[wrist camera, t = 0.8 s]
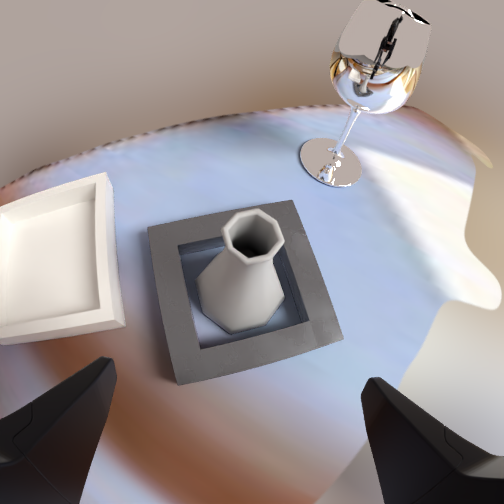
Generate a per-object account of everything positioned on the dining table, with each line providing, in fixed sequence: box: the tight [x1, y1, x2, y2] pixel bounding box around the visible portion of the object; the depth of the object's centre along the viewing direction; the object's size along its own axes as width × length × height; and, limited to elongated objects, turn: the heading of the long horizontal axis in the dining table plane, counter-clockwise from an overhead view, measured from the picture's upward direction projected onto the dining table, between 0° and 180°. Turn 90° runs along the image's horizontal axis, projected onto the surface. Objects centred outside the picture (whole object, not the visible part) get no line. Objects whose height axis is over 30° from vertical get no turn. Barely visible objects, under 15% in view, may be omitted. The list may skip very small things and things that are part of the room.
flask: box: [195, 208, 285, 335], centre depth 20 cm, size 7×7×10 cm
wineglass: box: [300, 0, 432, 187], centre depth 23 cm, size 8×8×20 cm
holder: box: [148, 200, 344, 386], centre depth 23 cm, size 13×13×2 cm
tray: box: [0, 172, 126, 346], centre depth 22 cm, size 14×14×3 cm
